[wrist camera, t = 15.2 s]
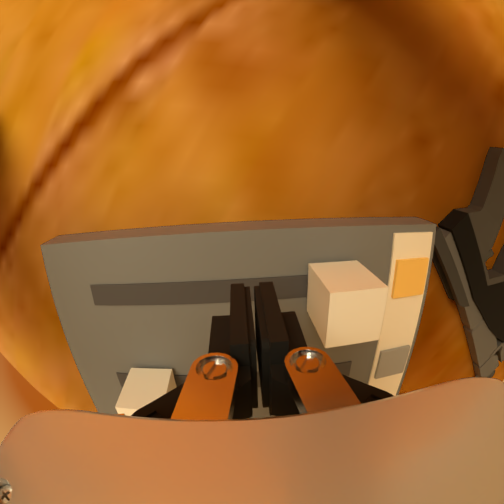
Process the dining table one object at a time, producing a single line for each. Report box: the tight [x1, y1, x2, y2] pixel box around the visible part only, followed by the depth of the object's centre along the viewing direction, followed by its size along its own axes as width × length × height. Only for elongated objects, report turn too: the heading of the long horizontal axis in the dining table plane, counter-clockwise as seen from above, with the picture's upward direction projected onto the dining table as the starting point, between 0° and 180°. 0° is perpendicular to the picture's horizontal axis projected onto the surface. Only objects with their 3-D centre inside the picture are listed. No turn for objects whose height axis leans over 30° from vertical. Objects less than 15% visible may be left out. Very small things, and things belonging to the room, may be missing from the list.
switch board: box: [41, 217, 437, 418], centre depth 20 cm, size 21×26×3 cm
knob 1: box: [115, 368, 176, 416], centre depth 16 cm, size 3×3×4 cm
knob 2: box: [307, 260, 388, 348], centre depth 15 cm, size 3×3×4 cm
